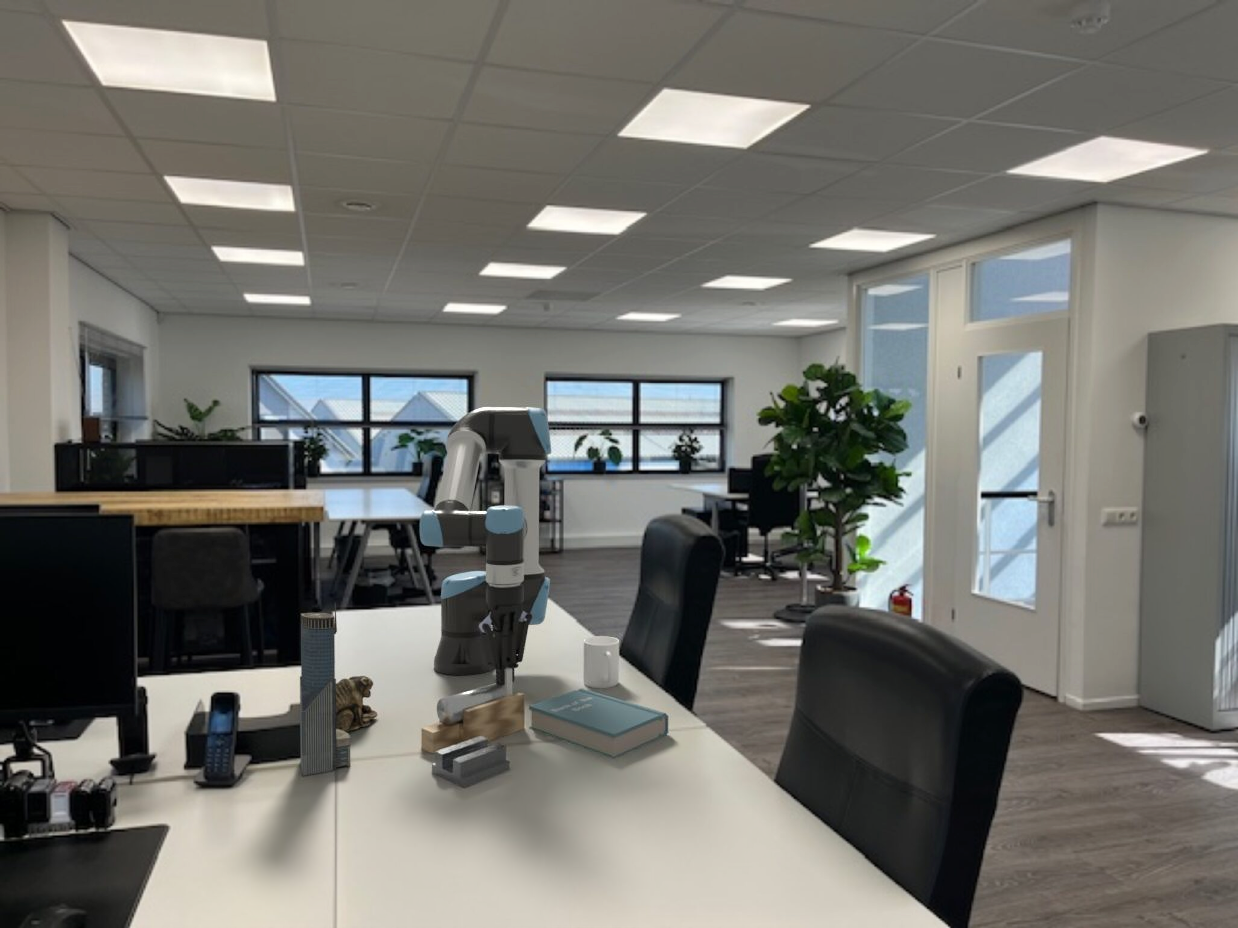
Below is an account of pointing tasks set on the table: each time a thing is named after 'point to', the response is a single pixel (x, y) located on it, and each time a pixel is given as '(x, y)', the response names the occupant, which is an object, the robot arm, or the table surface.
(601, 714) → the book
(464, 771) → the v block
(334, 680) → the building
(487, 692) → the axle
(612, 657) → the cup
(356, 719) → the figurine
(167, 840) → the table surface
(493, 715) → the beam
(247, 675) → the table surface
